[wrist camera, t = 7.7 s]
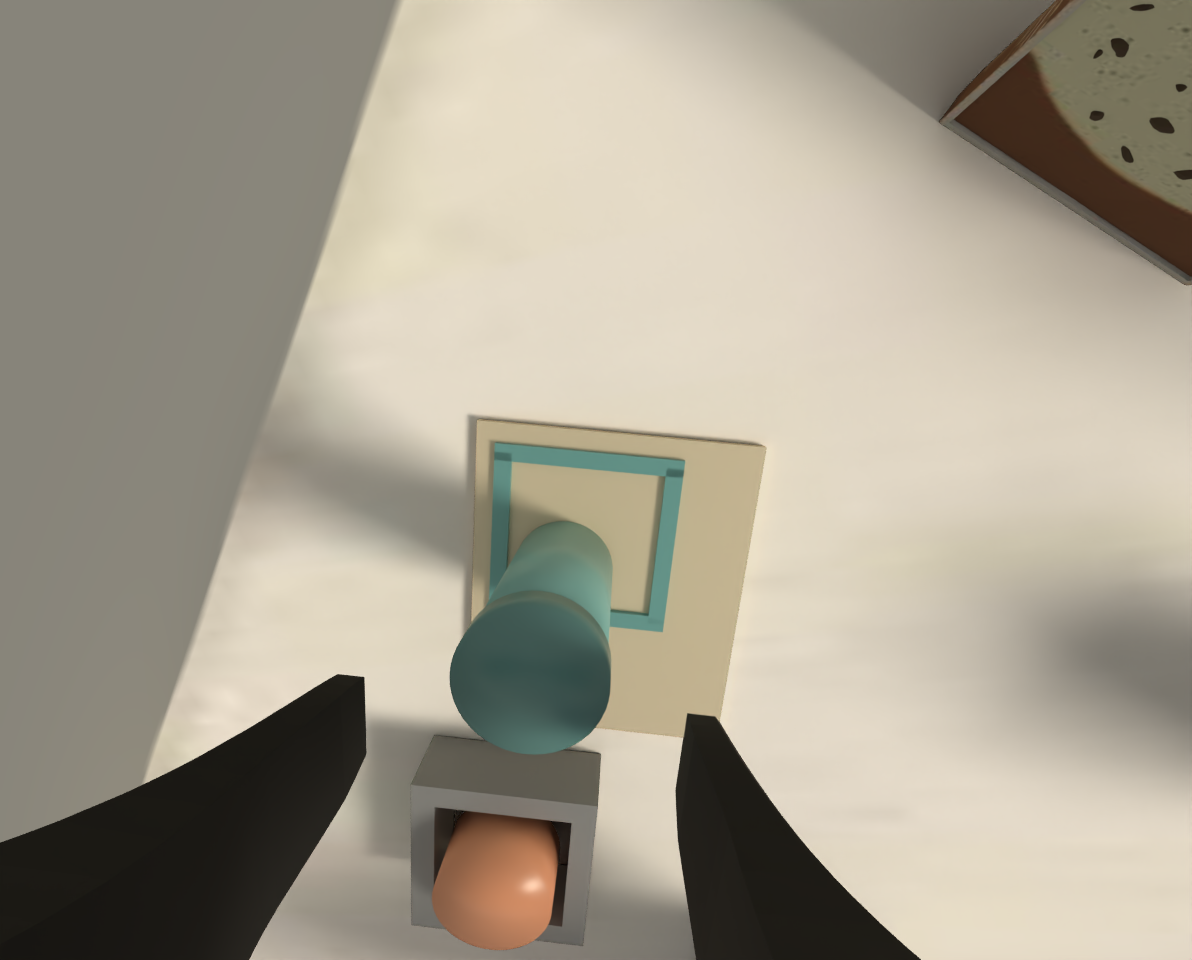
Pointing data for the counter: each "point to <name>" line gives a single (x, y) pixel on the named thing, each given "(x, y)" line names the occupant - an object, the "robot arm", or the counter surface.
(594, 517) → the card sheet
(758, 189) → the counter surface
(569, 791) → the button housing
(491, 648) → the teal rounded cylinder
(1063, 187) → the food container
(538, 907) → the button
